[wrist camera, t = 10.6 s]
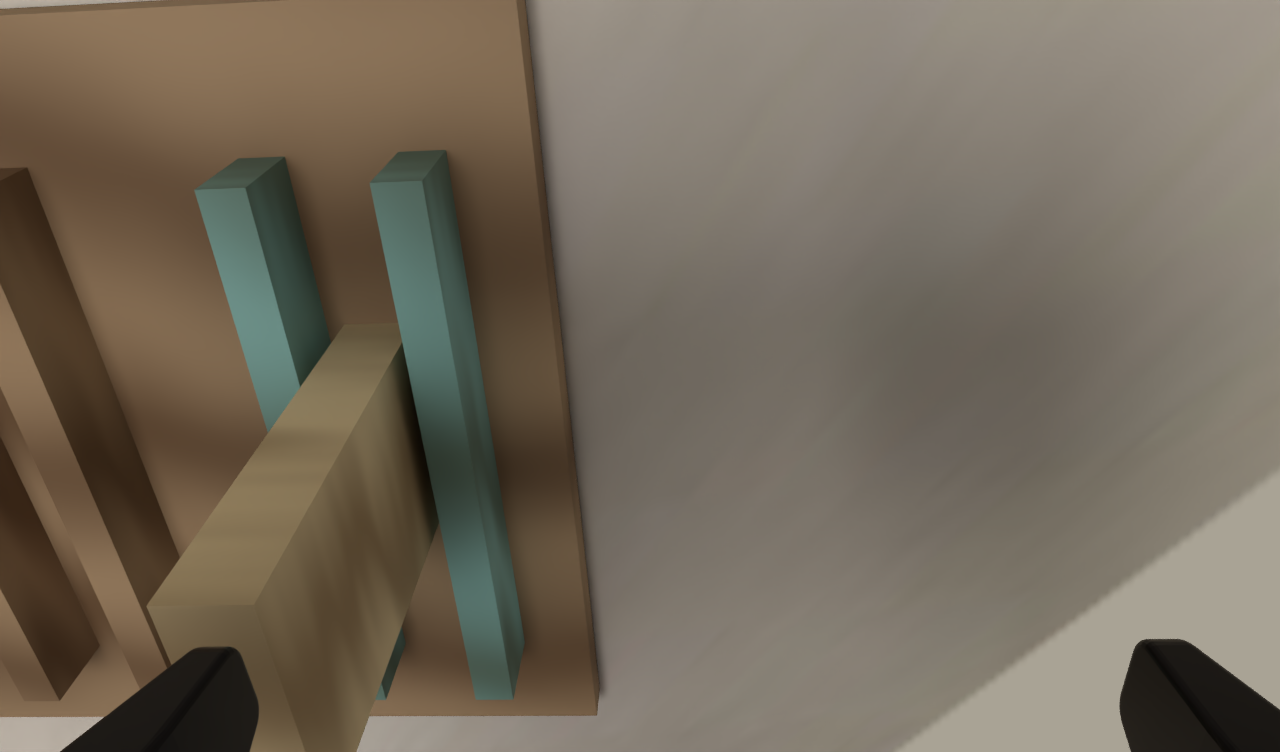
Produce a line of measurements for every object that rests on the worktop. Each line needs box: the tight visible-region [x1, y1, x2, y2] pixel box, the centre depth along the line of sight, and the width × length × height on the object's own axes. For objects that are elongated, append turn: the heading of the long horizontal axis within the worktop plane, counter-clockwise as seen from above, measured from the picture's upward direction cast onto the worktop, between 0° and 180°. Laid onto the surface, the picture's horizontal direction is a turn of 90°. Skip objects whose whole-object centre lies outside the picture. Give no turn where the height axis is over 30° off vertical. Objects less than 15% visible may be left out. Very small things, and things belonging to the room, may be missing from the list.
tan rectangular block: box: [147, 323, 439, 752], centre depth 19 cm, size 5×2×9 cm, turn 3°
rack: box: [0, 0, 600, 717], centre depth 23 cm, size 20×24×3 cm
